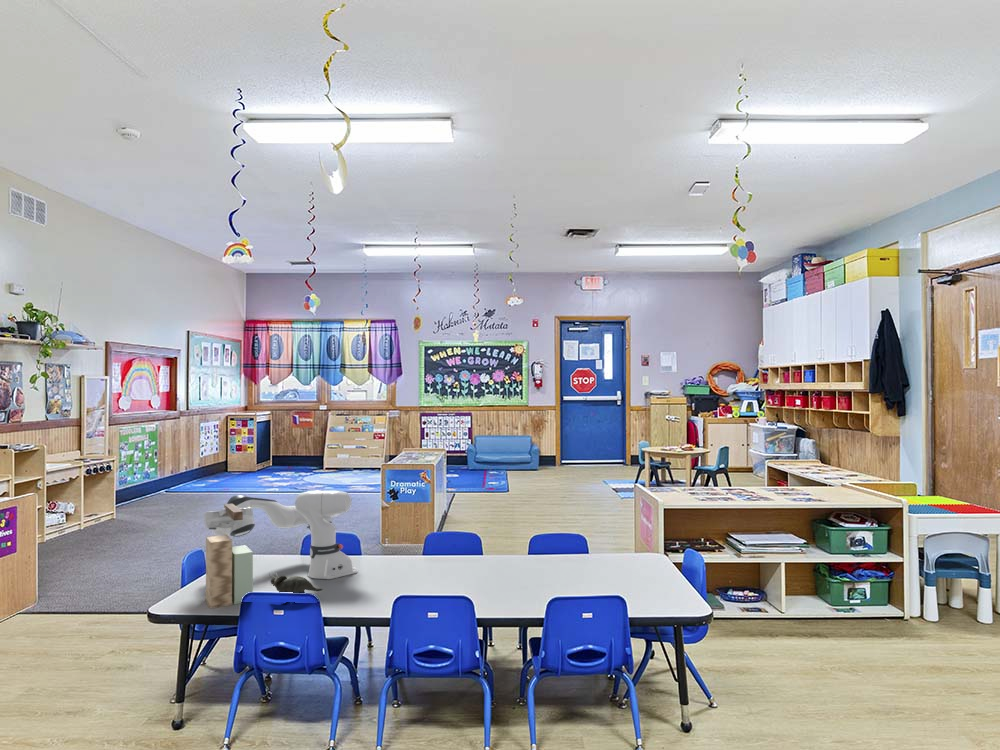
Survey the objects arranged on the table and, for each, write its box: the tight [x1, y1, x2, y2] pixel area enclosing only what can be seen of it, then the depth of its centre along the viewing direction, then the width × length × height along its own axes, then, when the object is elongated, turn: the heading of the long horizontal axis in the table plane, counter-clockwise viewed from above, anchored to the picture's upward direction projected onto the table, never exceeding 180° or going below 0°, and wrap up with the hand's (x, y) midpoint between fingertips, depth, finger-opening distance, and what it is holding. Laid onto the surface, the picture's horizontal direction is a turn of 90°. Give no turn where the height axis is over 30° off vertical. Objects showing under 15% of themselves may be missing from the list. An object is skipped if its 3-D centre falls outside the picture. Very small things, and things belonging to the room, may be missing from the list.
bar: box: [223, 503, 243, 521], centre depth 280 cm, size 4×22×4 cm, turn 33°
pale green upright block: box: [232, 544, 254, 605], centre depth 269 cm, size 7×14×20 cm, turn 33°
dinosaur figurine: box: [268, 571, 323, 594], centre depth 264 cm, size 22×8×11 cm, turn 90°
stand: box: [205, 535, 234, 610], centre depth 263 cm, size 8×11×26 cm
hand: (231, 509), depth 283 cm, fingers closed on bar, 3 cm apart
